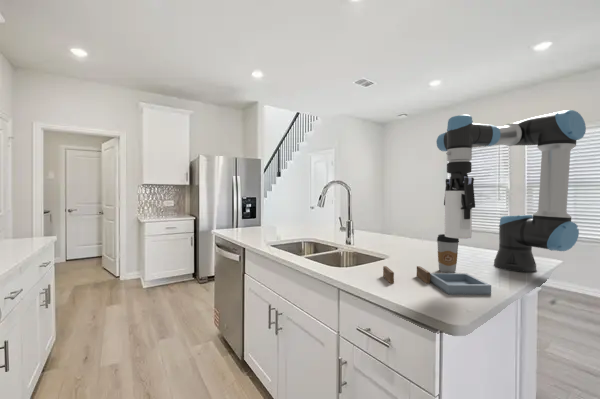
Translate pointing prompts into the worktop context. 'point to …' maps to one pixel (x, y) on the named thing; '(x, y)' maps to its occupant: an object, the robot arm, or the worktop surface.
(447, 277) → the tray
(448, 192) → the cup
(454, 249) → the coffee cup
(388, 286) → the worktop surface
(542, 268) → the worktop surface
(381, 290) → the worktop surface
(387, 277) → the clip rails
